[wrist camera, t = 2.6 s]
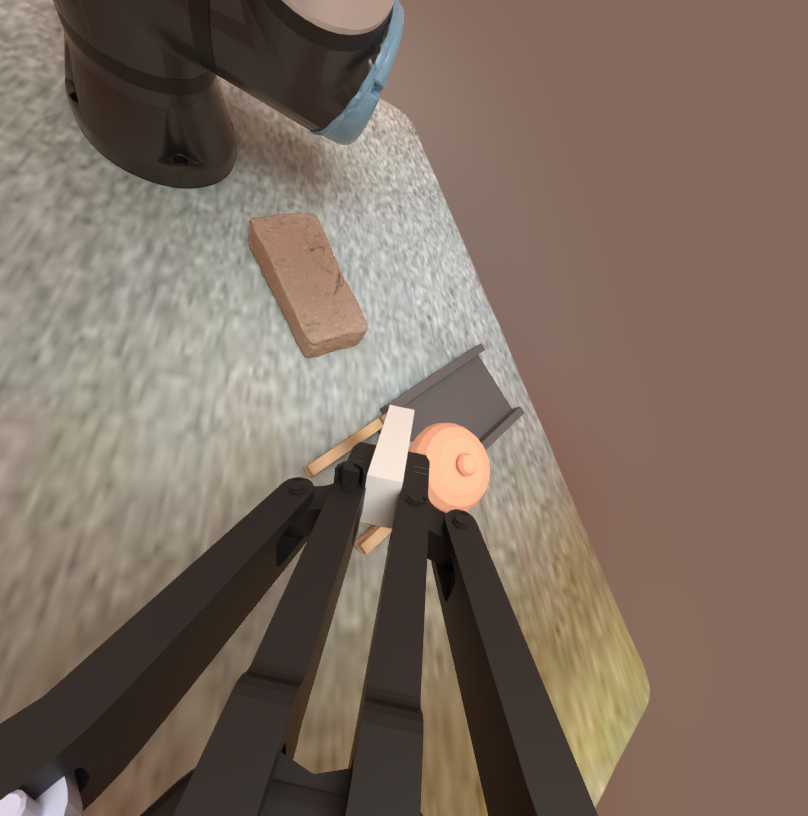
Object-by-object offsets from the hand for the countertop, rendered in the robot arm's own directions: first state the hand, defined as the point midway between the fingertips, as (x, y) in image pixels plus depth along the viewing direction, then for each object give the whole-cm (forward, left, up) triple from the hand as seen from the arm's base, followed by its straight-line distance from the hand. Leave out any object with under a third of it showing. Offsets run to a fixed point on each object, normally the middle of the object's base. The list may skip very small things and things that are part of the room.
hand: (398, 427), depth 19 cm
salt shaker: (0, +6, -20) cm, 21 cm away
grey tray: (-13, +16, -20) cm, 29 cm away
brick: (-19, -10, -21) cm, 30 cm away
